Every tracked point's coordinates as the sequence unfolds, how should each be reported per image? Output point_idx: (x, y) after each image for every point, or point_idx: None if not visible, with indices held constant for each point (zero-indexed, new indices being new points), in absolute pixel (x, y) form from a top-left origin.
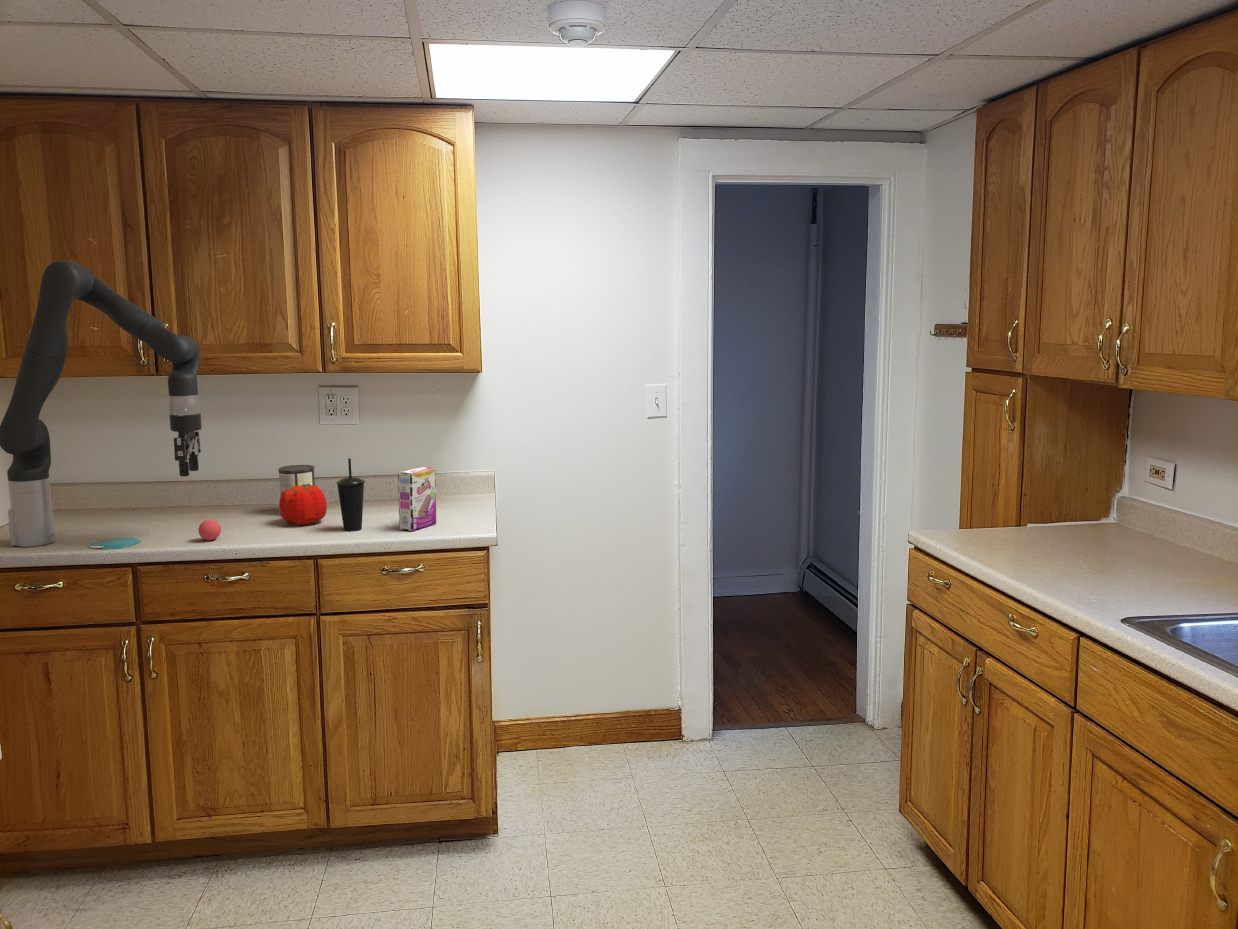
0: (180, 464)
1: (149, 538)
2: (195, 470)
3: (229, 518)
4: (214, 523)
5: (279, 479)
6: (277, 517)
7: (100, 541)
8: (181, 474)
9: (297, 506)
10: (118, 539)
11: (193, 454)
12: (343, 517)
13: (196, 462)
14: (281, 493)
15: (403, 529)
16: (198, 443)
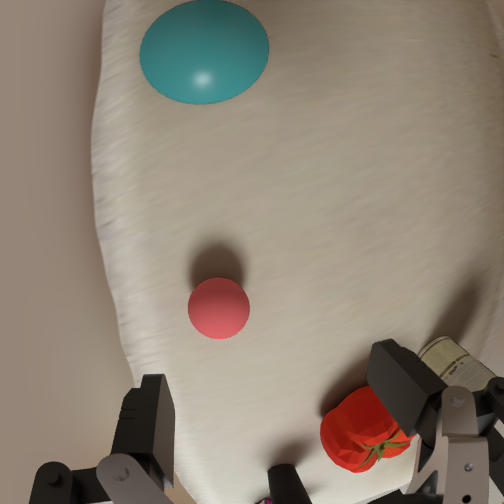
0: (113, 450)
1: (260, 113)
2: (369, 369)
3: (439, 251)
4: (209, 336)
5: (476, 379)
6: (416, 343)
7: (227, 11)
8: (132, 392)
9: (327, 446)
10: (246, 42)
11: (430, 435)
12: (275, 484)
13: (392, 409)
14: (452, 369)
15: (260, 502)
16: (490, 476)
